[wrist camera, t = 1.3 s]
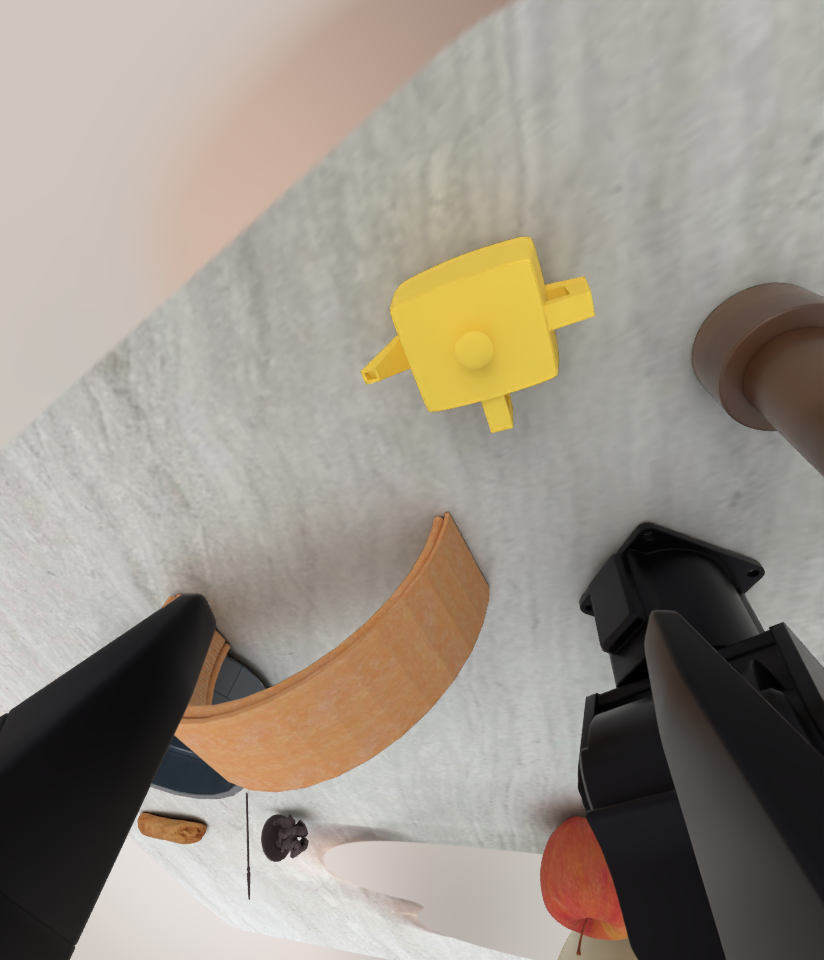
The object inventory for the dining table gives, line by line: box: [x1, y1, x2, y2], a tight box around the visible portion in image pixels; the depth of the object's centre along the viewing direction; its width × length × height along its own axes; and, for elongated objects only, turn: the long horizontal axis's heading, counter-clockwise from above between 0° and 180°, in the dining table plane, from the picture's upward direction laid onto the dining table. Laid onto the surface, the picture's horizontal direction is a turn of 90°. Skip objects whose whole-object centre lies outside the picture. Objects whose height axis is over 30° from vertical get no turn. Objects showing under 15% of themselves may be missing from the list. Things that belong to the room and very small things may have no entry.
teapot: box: [361, 236, 595, 433], centre depth 18 cm, size 8×6×5 cm
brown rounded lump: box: [138, 813, 207, 844], centre depth 53 cm, size 8×2×5 cm
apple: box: [540, 816, 628, 956], centre depth 37 cm, size 7×7×8 cm
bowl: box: [150, 655, 266, 799], centre depth 35 cm, size 11×11×6 cm
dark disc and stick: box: [246, 793, 308, 900], centre depth 46 cm, size 5×8×4 cm
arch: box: [162, 512, 489, 792], centre depth 26 cm, size 6×20×10 cm, turn 115°
